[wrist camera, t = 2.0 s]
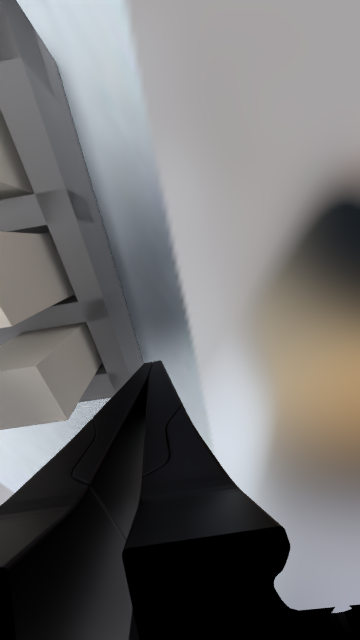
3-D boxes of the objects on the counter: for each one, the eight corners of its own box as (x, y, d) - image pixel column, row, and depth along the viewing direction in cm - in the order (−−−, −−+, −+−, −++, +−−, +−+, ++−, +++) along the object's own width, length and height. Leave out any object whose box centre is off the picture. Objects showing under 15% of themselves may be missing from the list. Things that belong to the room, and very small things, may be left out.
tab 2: (106, 355, 13) (67, 420, 8) (54, 363, 13) (-14, 431, 9) (91, 316, 12) (35, 365, 7) (34, 325, 12) (-60, 380, 7)
